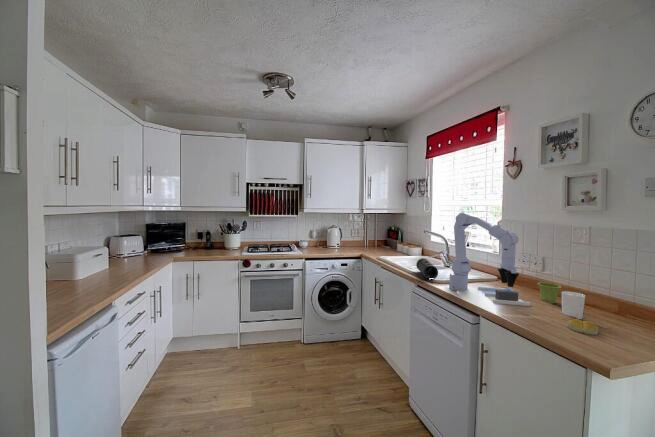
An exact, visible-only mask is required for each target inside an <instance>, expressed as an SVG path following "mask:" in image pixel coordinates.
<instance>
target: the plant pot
mask: <svg viewBox="0 0 655 437" xmlns="http://www.w3.org/2000/svg"><path fill="white" fill-rule="evenodd" d="M537 284H538V287H539V293H540V295H539V296H540V300H542V301H545V302H548V303H549V304H557V300H558V295H559V291H560V289H561V288H562V286H561V285H559V284H557V283H556V284H554V283H550V282H537Z"/></svg>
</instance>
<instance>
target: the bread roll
mask: <svg viewBox="0 0 655 437" xmlns="http://www.w3.org/2000/svg"><path fill="white" fill-rule="evenodd" d="M567 327H568V328H569V329H570V330H572V331H574V332H577V333H581V334H582V333H583V334H586V335H591V336H592V335H593V336H596V335H599V334H598V333H599V326H597V325H596V324H595V323H594V322H593V321H591V320H590V321H589V320H582V319H577V318H572V319H569V321H567Z"/></svg>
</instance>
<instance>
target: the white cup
mask: <svg viewBox="0 0 655 437" xmlns="http://www.w3.org/2000/svg"><path fill="white" fill-rule="evenodd" d="M585 299H586V295H585V294H583V293H580V292H574V291H561V313H562V314H563V315H565V316H568V317H569V316H570V317H573V318H575V319H578V320H582V319H583V316H584V315H583V314H584V313H583V312H584V309H585V308H584V307H585Z"/></svg>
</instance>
